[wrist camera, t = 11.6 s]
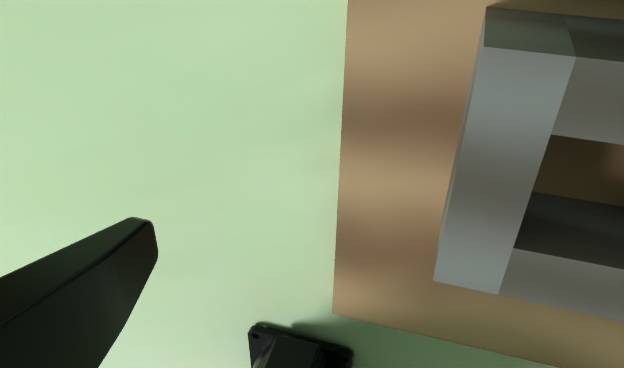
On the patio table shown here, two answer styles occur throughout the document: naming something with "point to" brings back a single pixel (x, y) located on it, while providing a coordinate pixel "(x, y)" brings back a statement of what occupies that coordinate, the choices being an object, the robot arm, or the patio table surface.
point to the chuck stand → (486, 175)
